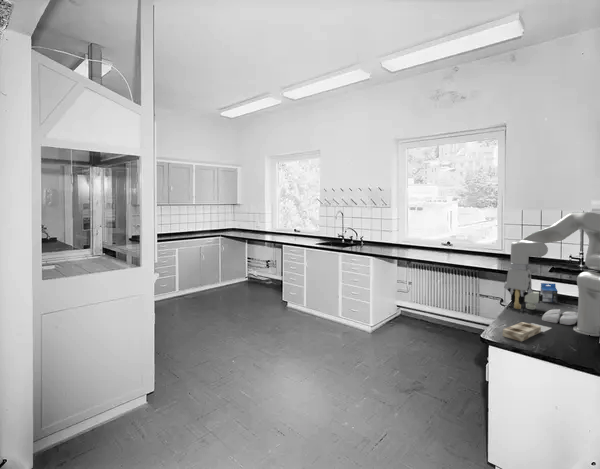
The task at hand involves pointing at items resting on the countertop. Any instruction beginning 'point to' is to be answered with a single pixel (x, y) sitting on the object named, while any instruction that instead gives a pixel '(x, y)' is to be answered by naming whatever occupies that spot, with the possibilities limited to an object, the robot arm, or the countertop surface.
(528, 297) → the pneumatic valve
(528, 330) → the hole block
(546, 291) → the label tape cartridge
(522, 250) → the robot arm
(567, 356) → the countertop surface
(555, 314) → the lung model
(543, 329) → the rubber mat
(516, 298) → the brass peg
